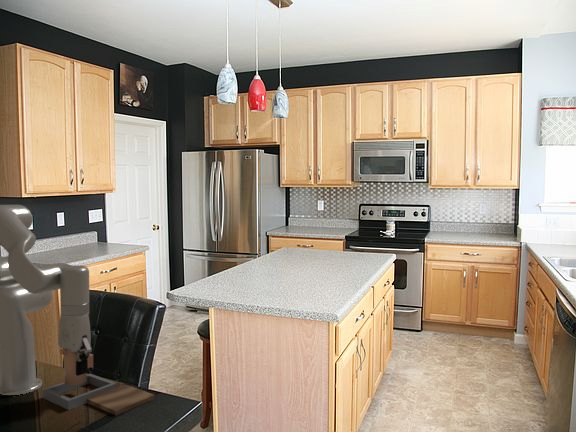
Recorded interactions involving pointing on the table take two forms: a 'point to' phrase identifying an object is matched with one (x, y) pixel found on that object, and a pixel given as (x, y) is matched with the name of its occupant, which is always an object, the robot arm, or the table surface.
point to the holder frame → (56, 397)
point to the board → (120, 399)
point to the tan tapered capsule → (74, 368)
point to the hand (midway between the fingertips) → (75, 370)
